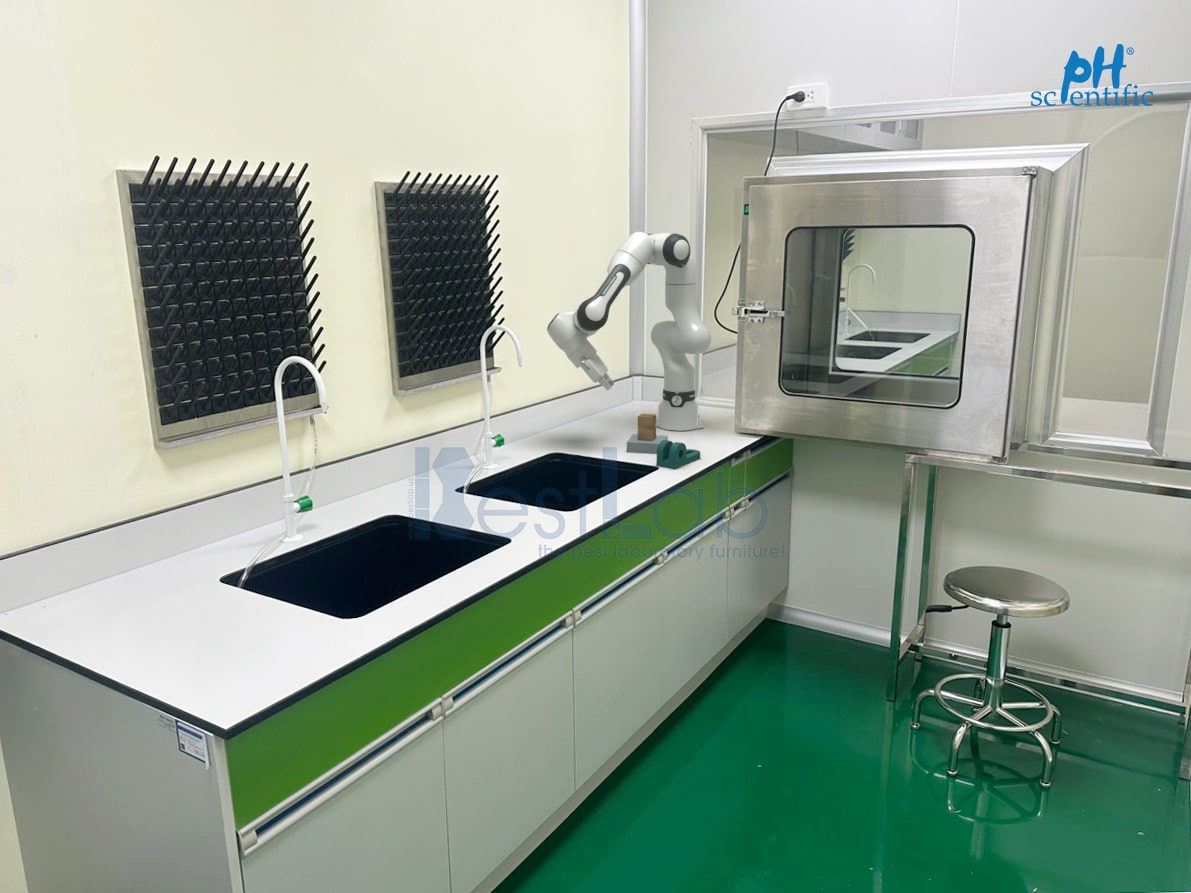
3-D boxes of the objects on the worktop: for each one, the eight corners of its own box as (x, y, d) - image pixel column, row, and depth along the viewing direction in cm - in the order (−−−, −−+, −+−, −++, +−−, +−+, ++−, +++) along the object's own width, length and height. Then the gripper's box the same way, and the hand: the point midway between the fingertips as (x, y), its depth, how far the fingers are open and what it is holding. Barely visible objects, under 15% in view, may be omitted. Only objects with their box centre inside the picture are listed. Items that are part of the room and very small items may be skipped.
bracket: (674, 470, 267) (675, 445, 265) (656, 466, 271) (656, 442, 269) (703, 458, 281) (704, 434, 279) (686, 454, 285) (686, 431, 283)
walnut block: (641, 436, 293) (641, 413, 292) (656, 437, 292) (656, 414, 290) (637, 439, 289) (637, 416, 287) (652, 440, 287) (652, 417, 285)
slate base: (632, 445, 298) (632, 433, 297) (667, 447, 296) (667, 435, 295) (626, 453, 287) (626, 442, 286) (662, 455, 284) (662, 444, 283)
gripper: (587, 352, 278) (615, 384, 279) (594, 347, 298) (620, 377, 299) (572, 365, 279) (600, 397, 280) (580, 359, 299) (607, 389, 300)
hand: (611, 387), depth 289 cm, fingers open, 8 cm apart
